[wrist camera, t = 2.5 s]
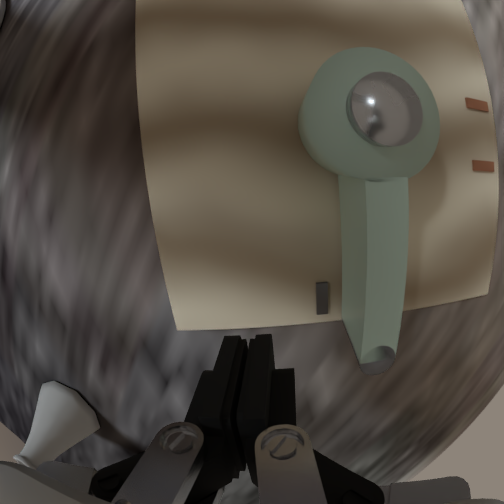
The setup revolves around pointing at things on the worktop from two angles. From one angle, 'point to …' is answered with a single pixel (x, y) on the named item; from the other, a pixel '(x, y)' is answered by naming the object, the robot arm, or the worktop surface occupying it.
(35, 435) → the flask
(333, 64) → the lock lever
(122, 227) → the worktop surface
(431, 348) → the worktop surface
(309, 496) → the robot arm
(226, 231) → the lock base
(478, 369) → the worktop surface
